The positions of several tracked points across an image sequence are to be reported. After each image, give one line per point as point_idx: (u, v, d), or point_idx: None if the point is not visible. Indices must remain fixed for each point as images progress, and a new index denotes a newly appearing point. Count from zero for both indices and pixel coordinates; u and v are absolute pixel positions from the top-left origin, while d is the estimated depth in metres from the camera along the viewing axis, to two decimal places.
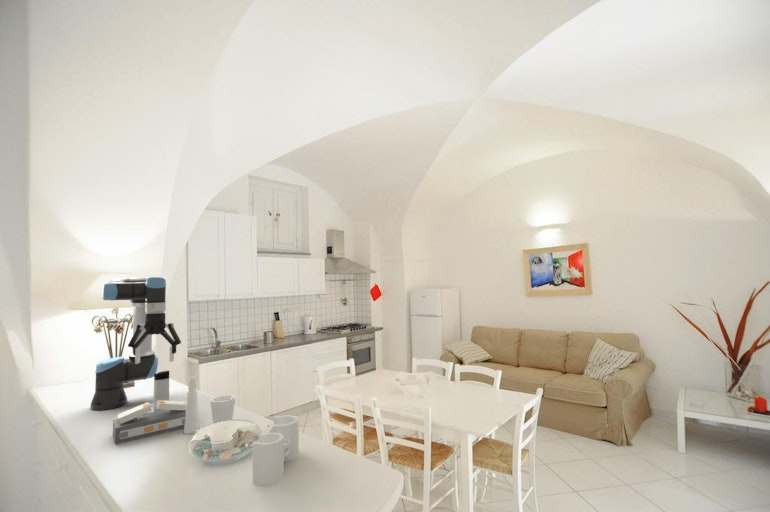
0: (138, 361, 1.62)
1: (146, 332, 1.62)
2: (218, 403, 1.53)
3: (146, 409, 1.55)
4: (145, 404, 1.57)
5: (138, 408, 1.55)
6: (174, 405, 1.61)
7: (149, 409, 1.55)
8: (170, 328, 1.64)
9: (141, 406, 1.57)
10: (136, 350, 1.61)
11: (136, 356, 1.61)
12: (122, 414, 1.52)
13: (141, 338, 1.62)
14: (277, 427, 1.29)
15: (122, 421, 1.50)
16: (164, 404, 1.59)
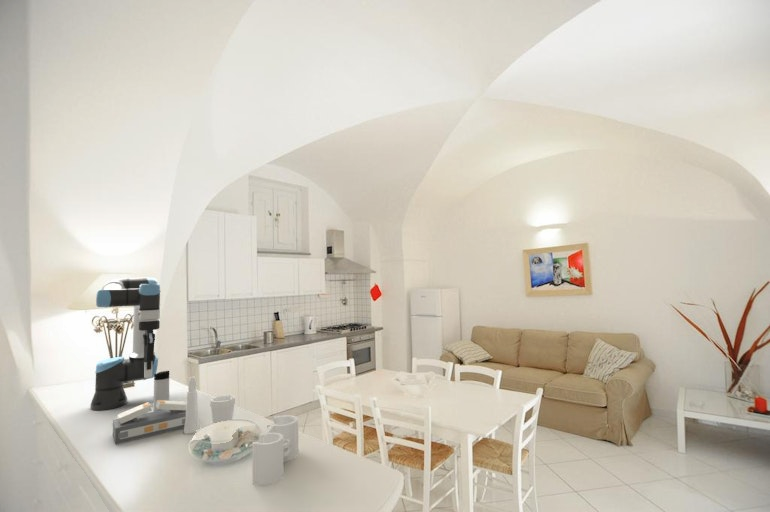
0: None
1: (143, 341, 1.59)
2: (218, 403, 1.53)
3: (146, 409, 1.55)
4: (145, 404, 1.57)
5: (138, 408, 1.55)
6: (174, 405, 1.61)
7: (149, 409, 1.55)
8: (147, 343, 1.55)
9: (141, 406, 1.57)
10: (144, 363, 1.58)
11: (144, 370, 1.58)
12: (122, 414, 1.52)
13: (144, 349, 1.59)
14: (277, 427, 1.29)
15: (122, 421, 1.50)
16: (164, 404, 1.59)
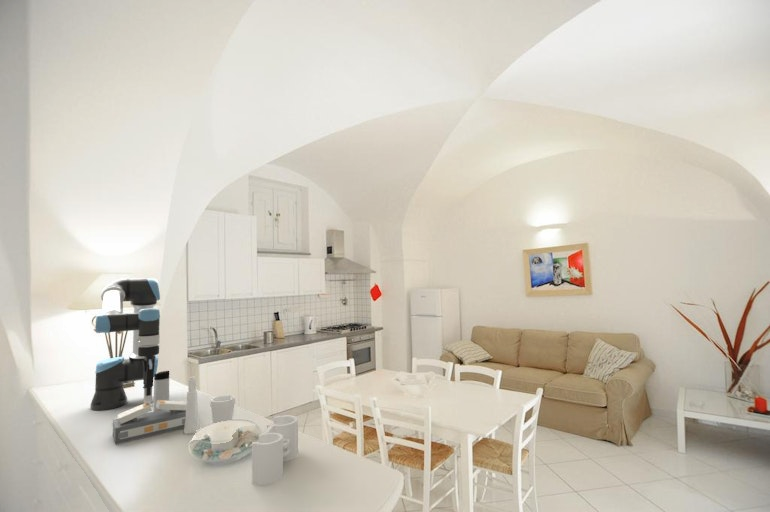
0: None
1: (143, 366, 1.59)
2: (218, 403, 1.53)
3: (146, 409, 1.55)
4: (145, 404, 1.57)
5: (138, 408, 1.55)
6: (174, 405, 1.61)
7: (149, 409, 1.55)
8: (146, 369, 1.54)
9: (141, 406, 1.57)
10: (144, 389, 1.58)
11: (144, 395, 1.57)
12: (122, 414, 1.52)
13: (144, 374, 1.59)
14: (276, 427, 1.29)
15: (122, 421, 1.50)
16: (164, 404, 1.59)
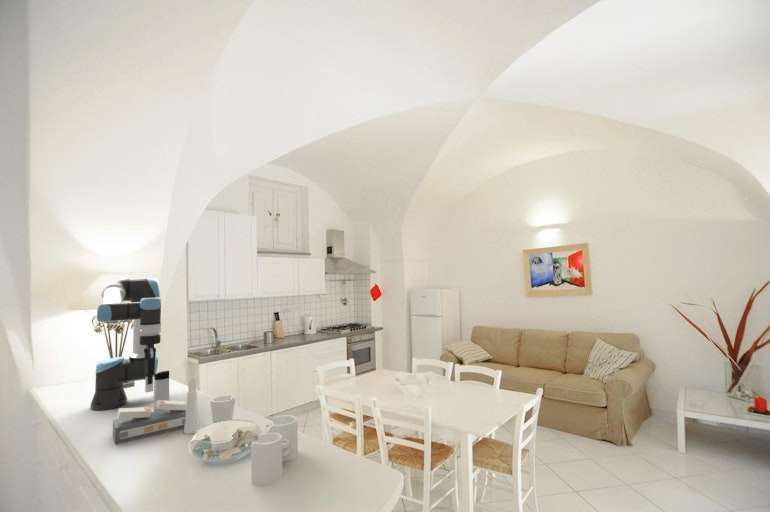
0: None
1: (144, 355, 1.59)
2: (218, 403, 1.53)
3: (146, 413, 1.55)
4: (147, 408, 1.58)
5: (140, 409, 1.55)
6: (174, 405, 1.61)
7: (149, 414, 1.55)
8: (148, 358, 1.55)
9: (143, 409, 1.57)
10: (145, 378, 1.58)
11: (145, 384, 1.58)
12: (124, 410, 1.53)
13: (145, 363, 1.59)
14: (276, 427, 1.29)
15: (121, 416, 1.50)
16: (164, 404, 1.59)
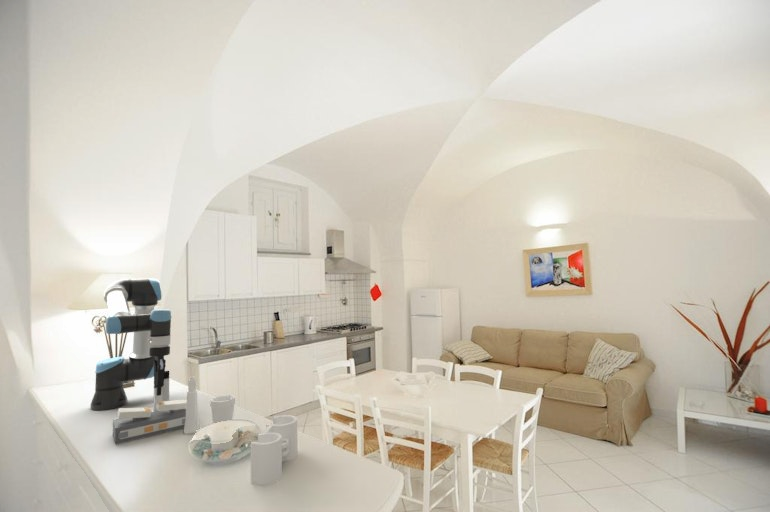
0: None
1: (154, 366, 1.61)
2: (218, 403, 1.53)
3: (146, 413, 1.55)
4: (147, 408, 1.58)
5: (140, 409, 1.55)
6: (174, 404, 1.61)
7: (149, 414, 1.55)
8: (158, 369, 1.57)
9: (143, 409, 1.57)
10: None
11: (154, 395, 1.60)
12: (124, 410, 1.53)
13: (155, 374, 1.61)
14: (276, 427, 1.29)
15: (121, 416, 1.50)
16: (163, 405, 1.59)
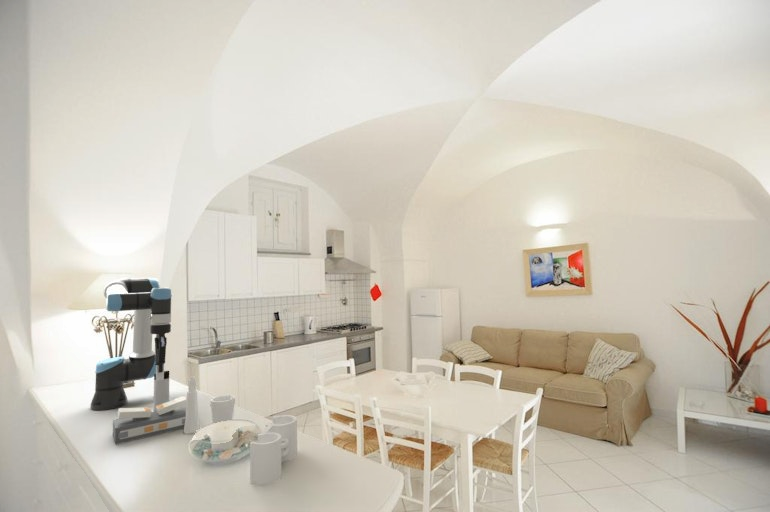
0: None
1: (155, 344, 1.62)
2: (218, 403, 1.53)
3: (146, 413, 1.55)
4: (147, 408, 1.58)
5: (140, 409, 1.55)
6: (173, 404, 1.61)
7: (149, 414, 1.55)
8: (159, 346, 1.58)
9: (143, 409, 1.57)
10: (156, 366, 1.61)
11: None
12: (124, 410, 1.53)
13: (156, 352, 1.62)
14: (275, 427, 1.29)
15: (121, 416, 1.50)
16: (163, 408, 1.59)
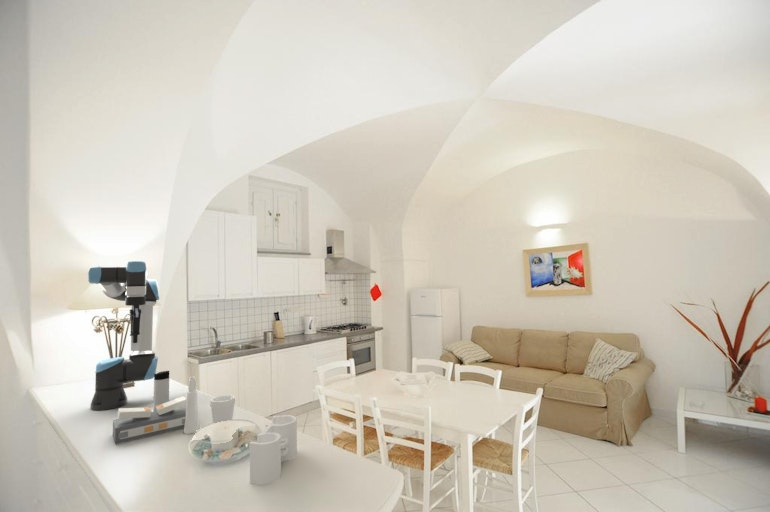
0: None
1: (130, 316, 1.67)
2: (218, 403, 1.53)
3: (146, 413, 1.55)
4: (147, 408, 1.58)
5: (140, 409, 1.55)
6: (173, 404, 1.61)
7: (149, 414, 1.55)
8: (133, 317, 1.62)
9: (143, 409, 1.57)
10: (131, 337, 1.66)
11: (131, 343, 1.66)
12: (124, 410, 1.53)
13: (131, 323, 1.67)
14: (275, 427, 1.29)
15: (121, 416, 1.50)
16: (163, 408, 1.59)
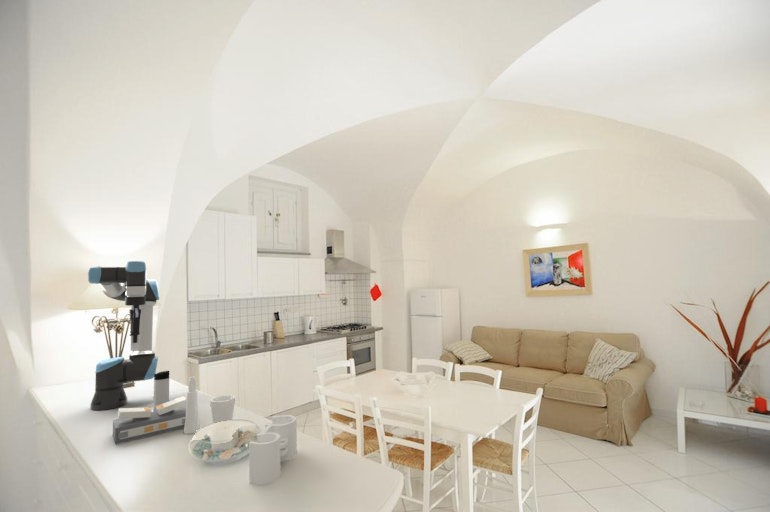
0: None
1: (130, 316, 1.67)
2: (218, 403, 1.53)
3: (146, 413, 1.55)
4: (147, 408, 1.58)
5: (140, 409, 1.55)
6: (173, 404, 1.61)
7: (149, 414, 1.55)
8: (133, 317, 1.62)
9: (143, 409, 1.57)
10: (131, 337, 1.66)
11: (131, 343, 1.66)
12: (124, 410, 1.53)
13: (131, 323, 1.67)
14: (275, 427, 1.29)
15: (121, 416, 1.50)
16: (163, 408, 1.59)
